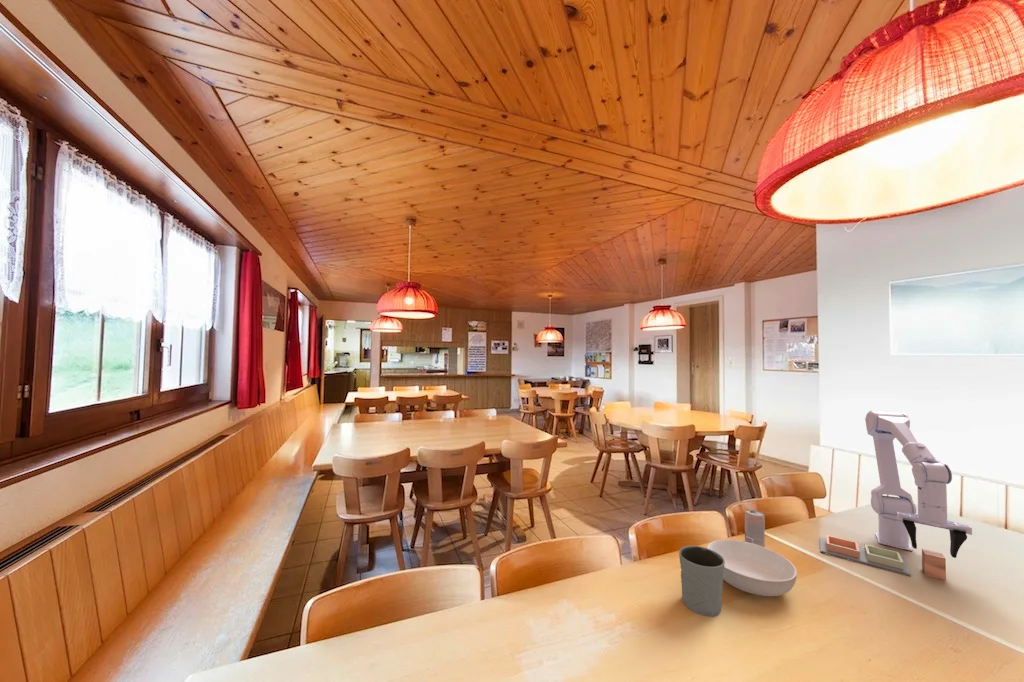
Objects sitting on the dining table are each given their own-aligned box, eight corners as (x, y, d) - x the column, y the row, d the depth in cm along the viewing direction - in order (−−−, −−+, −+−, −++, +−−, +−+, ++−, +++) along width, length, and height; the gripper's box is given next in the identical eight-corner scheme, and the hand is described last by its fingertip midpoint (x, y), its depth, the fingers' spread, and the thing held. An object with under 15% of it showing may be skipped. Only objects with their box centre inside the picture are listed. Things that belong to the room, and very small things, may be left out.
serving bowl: (697, 584, 102) (697, 558, 102) (716, 555, 118) (716, 532, 118) (793, 621, 88) (793, 591, 88) (800, 582, 104) (799, 556, 104)
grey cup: (720, 597, 96) (720, 549, 97) (729, 624, 87) (728, 570, 87) (677, 589, 99) (677, 542, 100) (680, 613, 90) (681, 561, 90)
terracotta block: (922, 569, 112) (921, 548, 112) (942, 574, 110) (941, 553, 110) (925, 575, 109) (924, 553, 109) (946, 580, 107) (945, 558, 107)
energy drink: (758, 547, 123) (758, 509, 124) (768, 555, 118) (768, 516, 118) (741, 546, 124) (741, 508, 124) (750, 554, 118) (750, 515, 119)
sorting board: (820, 538, 130) (819, 531, 130) (902, 559, 118) (902, 550, 118) (820, 552, 121) (820, 544, 121) (910, 576, 108) (910, 566, 108)
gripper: (899, 501, 112) (900, 548, 111) (975, 515, 103) (976, 566, 102) (895, 495, 117) (896, 540, 117) (966, 507, 108) (968, 556, 108)
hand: (933, 551), depth 110 cm, fingers open, 7 cm apart
